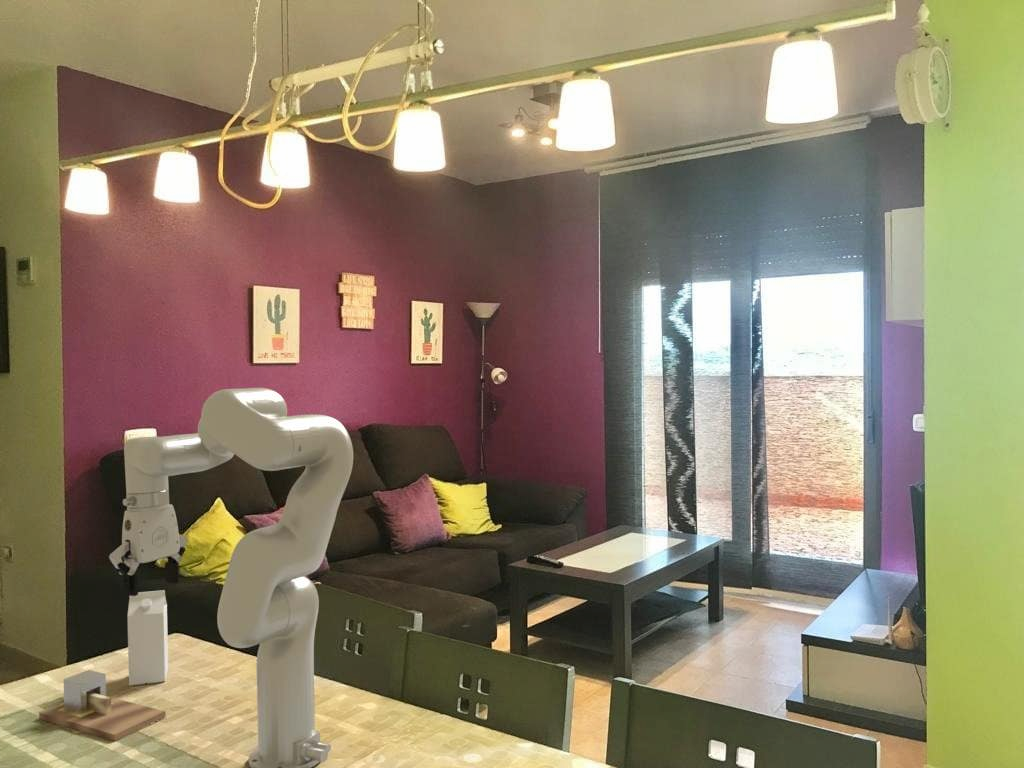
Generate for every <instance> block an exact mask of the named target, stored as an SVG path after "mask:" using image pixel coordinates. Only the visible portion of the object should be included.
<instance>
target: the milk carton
mask: <svg viewBox="0 0 1024 768" xmlns="http://www.w3.org/2000/svg"><path fill="white" fill-rule="evenodd" d="M128 596H129V595H128ZM128 598H129V600H128V608H127V609H128V610H127V652H128V653H127V654H128V658H127V659H128V684H129V686H139V685H146V684H145V683H147V684H154V683H163V681H164V682H166V679H167V675H168V671H169V640H168V639H169V638H168V602H167V598H166V591H165V589H163V590H161V589H160V590H153V591H140V592H139V591H138V595H136V596H129V597H128Z"/></svg>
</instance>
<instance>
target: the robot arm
mask: <svg viewBox="0 0 1024 768" xmlns="http://www.w3.org/2000/svg"><path fill="white" fill-rule="evenodd" d="M200 415H201V417H200V419H199V420H198V425H197V432H195V433H186V434H184V433H183V434H174V435H166V436H139V437H133V438H129V439H128V440H126V441H125V443H124V446H123V452H124V453H123V455H124V470H125V471H124V473H125V474H124V475H125V488H126V489H125V490H126V496H125V497H126V498H124V499H122V505H123V506H125V507H126V510H124V514H123V521H122V529H121V531H122V532H121V533H122V535H121V545H120V546H118V547H117V548H116V549H114V551H112V552H111V553H110V554H109V555H108V558H109V561H110V562H111V563H112V565H113V568H114V569H115V570H116V571H117V572H118V573H119V575H121V576H122V589H123V595H124V596H136V595H138V592H139V582H138V574H136V571H137V569H138V567H139V565H140V564H146V563H150V562H153V561H154V562H155V561H158V560H163V559H165V560H167V561H165V563H164V573H165V575H164V576H165V583H169V584H179V583H180V564H179V563H181V561H182V559H183V555H184V554H185V552H186V547H187V544H188V541H189V538H188V537H187V536H185V535H183V534H181V533H179V525H178V520H177V516H176V510H175V508H174V505H173V504H170V491H169V490H170V489H169V477H173V476H177V475H183V474H184V475H185V474H191V473H192V474H193V473H198V472H204V471H207V470H210V469H213V468H215V467H218V466H219V465H222V464H224V463H226V462H229V460H231V459H232V458H233V457H234V455H235V456H236V457H238V458H239V459H241V460H242V461H243V462H245V463H247V464H248V465H250V466H252V467H253V468H256V469H259V470H262V471H267V472H268V471H269V472H274V471H280V470H286V469H293V468H294V469H295V468H300V467H305V469H304V471H303V472H302V474H301V475H299V477H298V479H296V481H295V482H294V484H293V486H292V487H291V489H290V491H289V493H288V495H287V497H286V498H287V499H286V502H285V506H284V509H283V512H282V514H281V517H280V519H279V521H277V522H276V523H275V524H272V525H269V526H265V527H260V528H257V529H254V530H251V531H249V532H248V533H246V534H244V535H243V536H242V537H241V539H240V540H239V541H238V542H237V544H236V545H235V546H234V549H233V550H232V553H231V557H230V560H229V563H228V568H227V570H226V575H225V577H224V582H223V587H222V591H221V595H220V598H219V603H218V608H217V613H216V615H217V616H216V617H217V618H216V619H217V621H216V623H217V628H218V632H219V635H220V636H221V638H222V640H223V641H224V642H225V643H226V644H227V645H228V646H231V647H234V648H235V649H236V648H237V649H245V648H250V647H254V646H257V645H259V647H258V650H257V655H256V704H257V705H256V706H257V708H256V709H257V712H256V713H257V716H256V717H257V746H256V747H255V748H254V749H252V750H251V752H250V753H249V756H248V765H249V766H248V767H250V768H313V767H315V766H316V765H318V764H319V763H322V764H323V763H324V762H326V761H327V759H328V755H329V753H330V751H331V749H332V746H331V745H332V744H330V743H326V742H322V741H321V736H320V735H321V733H320V732H321V731H319V730H316V723H315V722H316V719H315V717H316V716H315V713H316V712H315V664H314V663H315V656H314V655H315V653H314V650H315V632H316V626H317V621H318V616H319V615H318V614H319V606H320V601H319V594H318V593H319V592H318V590H317V588H316V585H315V584H314V583H313V581H312V580H310V578H308V577H307V576H308V575H310V574H312V573H314V572H316V571H317V570H318V569H319V568H320V567H321V565H322V563H323V561H324V559H325V554H326V553H327V548H328V545H329V542H330V538H331V534H332V531H333V528H334V525H335V522H336V517H337V514H338V513H337V512H338V510H339V507H340V503H341V500H342V498H343V496H344V493H345V491H346V488H347V485H348V483H349V480H350V477H351V474H352V471H353V467H354V466H353V463H354V448H353V443H352V440H351V437H350V434H349V432H348V430H347V428H345V426H344V425H343V423H341V422H340V421H339V420H338V419H336V418H334V417H331V416H330V415H324V414H317V413H316V414H311V413H310V414H297V415H288V407H287V403H286V401H285V399H284V398H283V397H282V395H280V393H278V392H277V391H275V390H273V389H270V388H266V387H247V388H224V389H220V390H218V391H215V392H213V393H212V394H211V395H210V396H208V398H207V399H205V401H204V403H203V405H202V408H201V414H200ZM122 558H123V560H122Z"/></svg>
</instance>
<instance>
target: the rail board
mask: <svg viewBox="0 0 1024 768" xmlns="http://www.w3.org/2000/svg"><path fill="white" fill-rule="evenodd" d="M86 701H87V712H86V713H83V714H78V713H74V712H70V711H67V710H64V702H62V703H60V704H57V705H55V706H52V707H50V708H46V709H44V710H42V711H40V712H38V716H39V717H38V718H39V720H42V721H47V722H49V723H53V724H57V725H59V726H62V727H66V728H69V727H70V729H72V728H73V730H76V729H77V730H76V731H79V730H81V731H80V732H82V733H86V732H87V734H89V733H90V735H93V736H96V735H97V737H99V736H101V737H100V738H103V737H104V738H103V739H106V738H108V739H107V740H110V739H111V741H113V740H114V742H116V740H117V741H118V739H119V740H121V739H123V738H125V737H127V735H128V736H129V734H130V735H132V734H134V733H136V732H138V731H140V730H142V729H144V728H143V727H145V726H147V725H149V724H151V723H153V722H155V721H157V720H159V719H162V718H164V717H166V716H167V713H166V712H167V711H166V710H161V709H157V708H154V707H151V706H147V705H142V704H138V703H134V702H132V701H126V700H123V699H120V698H116V697H112V696H109V695H108V696H107V695H106V696H103V695H100V694H96V693H92V692H88V691H87V692H86ZM164 719H165V718H164ZM162 720H163V719H162ZM159 721H160V720H159ZM157 722H158V721H157ZM155 723H156V722H155ZM153 724H154V723H153ZM151 725H152V724H151ZM149 726H150V725H149ZM147 727H148V726H147ZM141 728H142V729H141ZM145 728H146V727H145ZM137 730H138V731H137ZM133 732H134V733H133ZM131 733H132V734H131ZM122 737H123V738H122Z"/></svg>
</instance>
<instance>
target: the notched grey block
mask: <svg viewBox="0 0 1024 768" xmlns="http://www.w3.org/2000/svg"><path fill="white" fill-rule="evenodd" d="M106 677H107V676H106V673H102V672H99V671H95V670H90V669H88V670H85V671H82V672H80V673H77V674H74V675H72V676H69V677H66V678H64V679H63V703H64V710H67V711H70V712H74V713H78V714H83V713H86V712H87V701H86V692H87V691H88V692H92V693H96V694H100V695H103V696H107V686H106V685H107V684H106V683H107V682H106V679H107V678H106Z"/></svg>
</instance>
